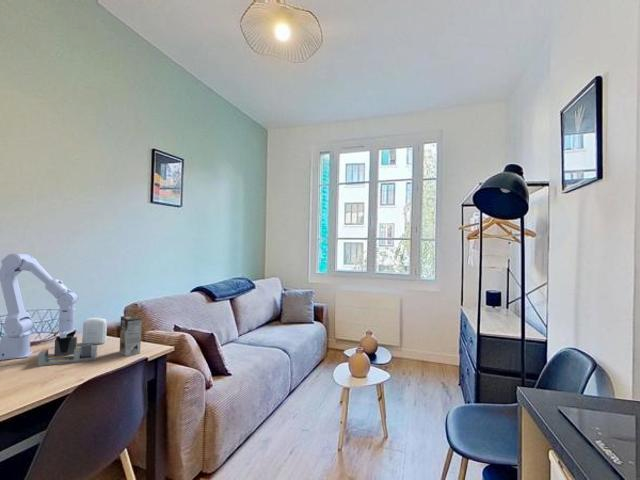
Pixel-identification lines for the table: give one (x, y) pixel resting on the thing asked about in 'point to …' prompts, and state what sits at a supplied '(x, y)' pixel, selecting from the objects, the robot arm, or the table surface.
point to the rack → (80, 354)
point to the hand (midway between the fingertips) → (65, 350)
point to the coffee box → (130, 335)
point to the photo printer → (94, 331)
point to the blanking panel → (70, 350)
